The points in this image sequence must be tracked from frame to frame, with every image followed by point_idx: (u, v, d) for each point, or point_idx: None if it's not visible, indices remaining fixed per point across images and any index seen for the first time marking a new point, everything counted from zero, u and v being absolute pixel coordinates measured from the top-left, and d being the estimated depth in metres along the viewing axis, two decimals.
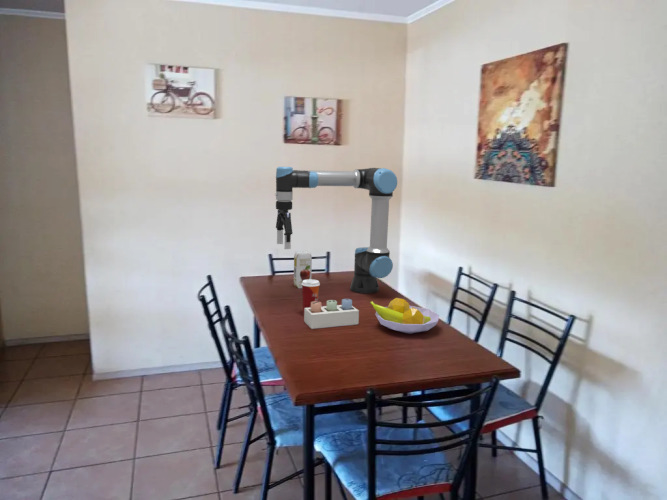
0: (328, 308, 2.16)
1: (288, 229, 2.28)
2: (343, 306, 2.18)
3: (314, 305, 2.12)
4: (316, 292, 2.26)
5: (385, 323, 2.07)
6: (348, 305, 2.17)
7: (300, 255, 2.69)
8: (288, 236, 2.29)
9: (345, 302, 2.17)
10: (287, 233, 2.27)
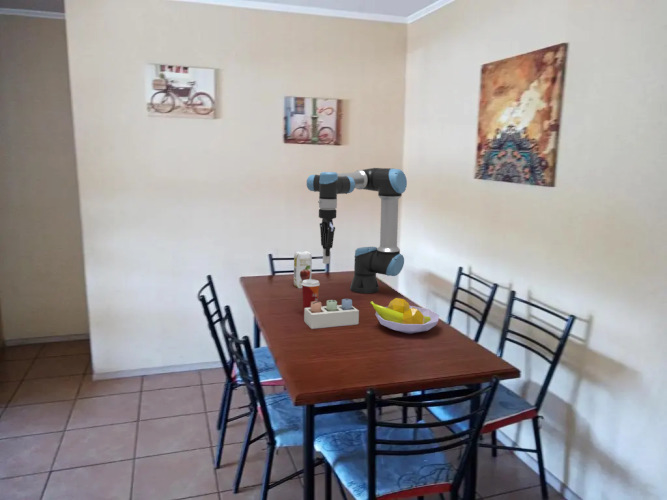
0: (328, 308, 2.16)
1: (329, 244, 2.16)
2: (343, 306, 2.18)
3: (314, 305, 2.12)
4: (316, 292, 2.26)
5: (385, 323, 2.07)
6: (348, 305, 2.17)
7: (300, 255, 2.69)
8: (327, 250, 2.18)
9: (345, 302, 2.17)
10: (327, 248, 2.16)
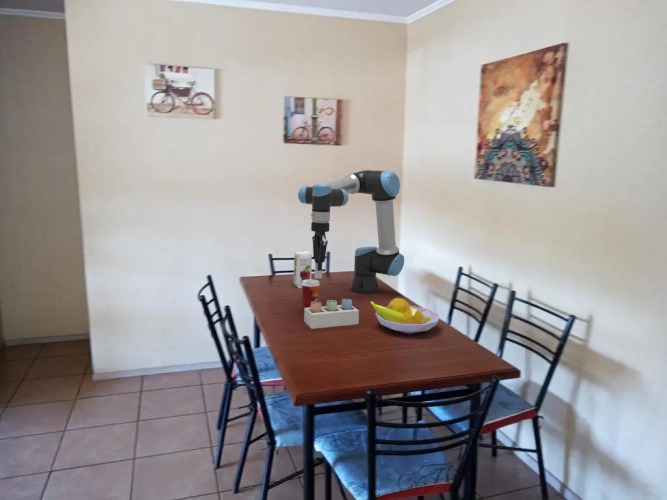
0: (328, 308, 2.16)
1: (321, 258, 2.09)
2: (343, 306, 2.18)
3: (314, 305, 2.12)
4: (316, 292, 2.26)
5: (385, 323, 2.07)
6: (348, 305, 2.17)
7: (300, 255, 2.69)
8: (320, 264, 2.12)
9: (345, 302, 2.17)
10: (319, 262, 2.10)
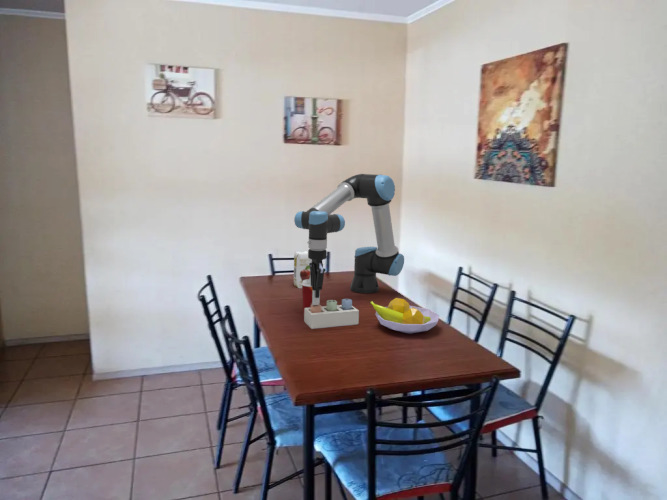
0: (328, 308, 2.16)
1: (318, 285, 2.09)
2: (343, 306, 2.18)
3: (314, 308, 2.12)
4: None
5: (385, 323, 2.07)
6: (348, 305, 2.17)
7: (300, 255, 2.69)
8: (317, 291, 2.11)
9: (345, 302, 2.17)
10: (316, 289, 2.09)
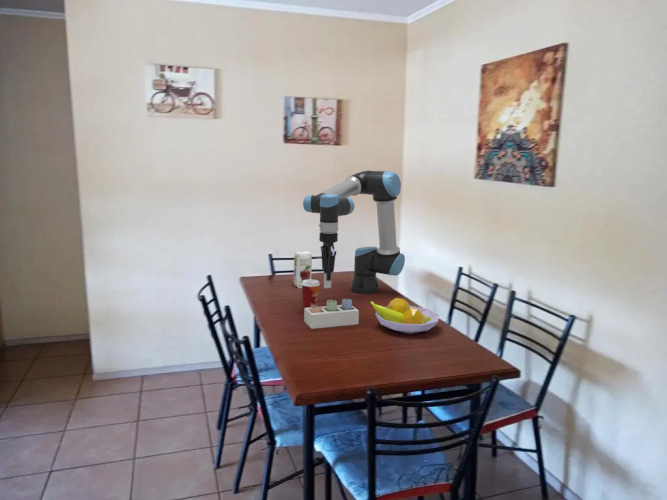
0: (328, 308, 2.16)
1: (330, 268, 2.10)
2: (343, 306, 2.18)
3: (314, 309, 2.13)
4: (316, 292, 2.26)
5: (385, 323, 2.07)
6: (348, 305, 2.17)
7: (300, 255, 2.69)
8: (329, 274, 2.12)
9: (345, 302, 2.17)
10: (328, 272, 2.10)
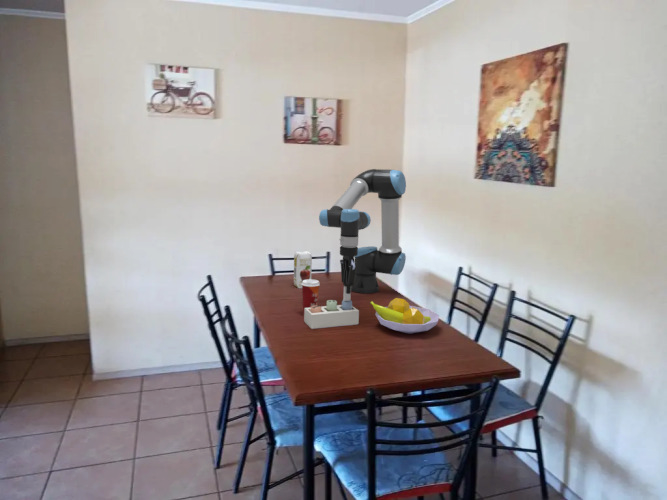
0: (328, 308, 2.16)
1: (350, 282, 2.14)
2: (343, 307, 2.18)
3: (314, 309, 2.13)
4: (316, 292, 2.26)
5: (385, 323, 2.07)
6: (348, 306, 2.18)
7: (300, 255, 2.69)
8: (348, 287, 2.16)
9: (345, 303, 2.17)
10: (348, 285, 2.14)
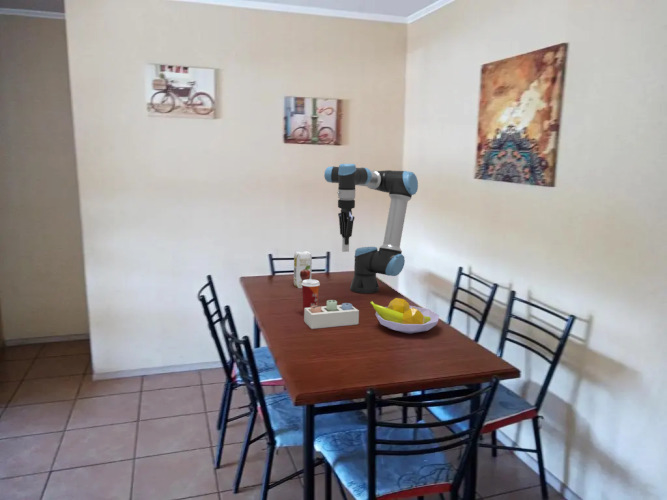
0: (328, 308, 2.16)
1: (348, 233, 2.25)
2: None
3: (314, 309, 2.13)
4: (316, 292, 2.26)
5: (385, 323, 2.07)
6: None
7: (300, 255, 2.69)
8: (347, 239, 2.28)
9: (345, 306, 2.18)
10: (346, 236, 2.26)
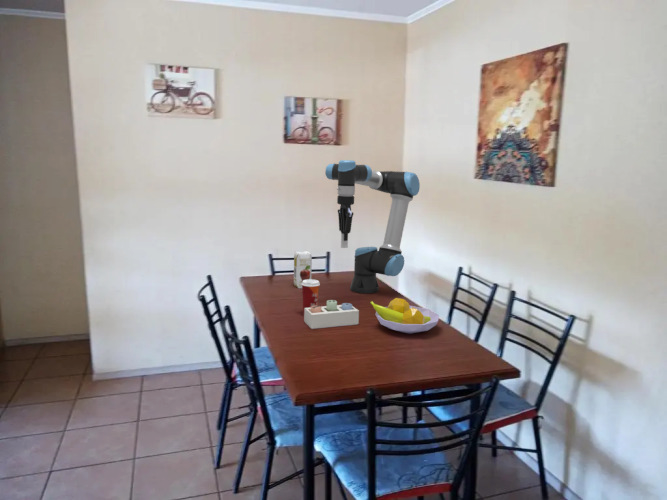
0: (328, 308, 2.16)
1: (347, 229, 2.26)
2: None
3: (314, 309, 2.13)
4: (316, 292, 2.26)
5: (385, 323, 2.07)
6: None
7: (300, 255, 2.69)
8: (346, 235, 2.29)
9: (345, 306, 2.18)
10: (345, 232, 2.27)
